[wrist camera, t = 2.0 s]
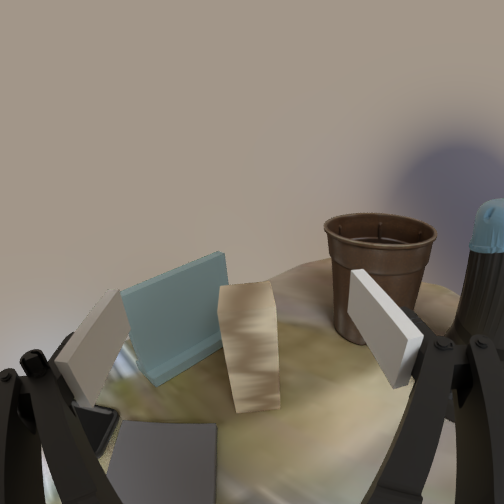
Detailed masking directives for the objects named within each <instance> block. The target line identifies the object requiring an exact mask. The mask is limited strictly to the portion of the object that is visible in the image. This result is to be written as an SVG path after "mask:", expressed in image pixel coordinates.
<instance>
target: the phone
mask: <svg viewBox="0 0 504 504" xmlns="http://www.w3.org/2000/svg"><path fill="white" fill-rule="evenodd" d="M72 405H73V406H74V408H75V410H76V413H77V415H78V418H79V420H80V423H81V425H82V427H83V430H84V432H85V434H86V436H87V439H88V441H89V443H90V445H91V447H92V449H93V451H94V453H95V455H96V457H97V459H98V458H100V457H101V456H102V455H103V453H104V451H105V449H106V447H107V445H108V443H109V440H110V438H111V436H112V434H113V432H114V430H115V428H116V425H117V423H118V421H119V415H118V413H117V412H116V410H114V409H111V408H107V407H102V406H98V405H94V407H93V408H88V407H82V406H79V404H78V403H77V401H76V400H75V399H73V401H72ZM109 435H110V437H109ZM108 437H109V439H108ZM107 439H108V440H107Z"/></svg>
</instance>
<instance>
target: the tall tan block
mask: <svg viewBox="0 0 504 504" xmlns="http://www.w3.org/2000/svg"><path fill="white" fill-rule="evenodd" d="M217 314H218V320H219V326H220V331H221V337H222V343H223V348H224V354H225V359H226V364H227V369H228V374H229V380H230V385H231V390H232V394H233V399H234V404H235V409H236V413H244V412H256V411H266V410H276V409H280V381H279V357H278V336H277V316H276V305H275V300H274V296H273V292H272V288H271V284H270V281H266V282H256V283H245V284H235V285H224V286H220V290H219V300H218V309H217Z"/></svg>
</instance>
